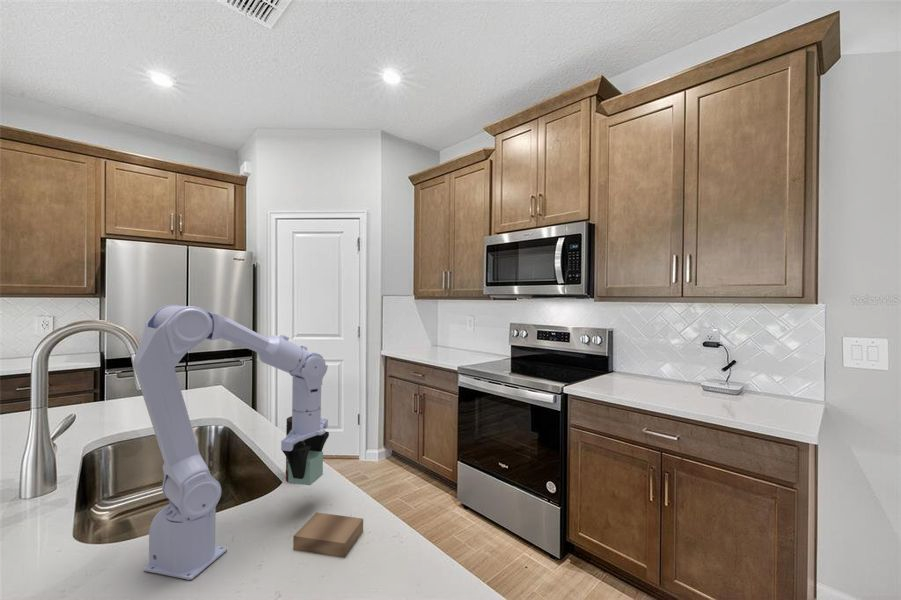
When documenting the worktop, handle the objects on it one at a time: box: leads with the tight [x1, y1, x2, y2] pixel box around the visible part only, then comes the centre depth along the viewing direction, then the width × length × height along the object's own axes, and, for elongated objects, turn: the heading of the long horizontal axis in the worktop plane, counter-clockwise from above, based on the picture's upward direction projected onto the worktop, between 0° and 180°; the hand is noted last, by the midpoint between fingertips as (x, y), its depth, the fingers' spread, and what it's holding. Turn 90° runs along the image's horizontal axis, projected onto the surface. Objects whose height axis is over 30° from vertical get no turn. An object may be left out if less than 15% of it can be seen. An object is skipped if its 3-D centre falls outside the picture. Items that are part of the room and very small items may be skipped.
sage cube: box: [287, 451, 324, 486], centre depth 85 cm, size 5×5×5 cm
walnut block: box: [292, 512, 364, 559], centre depth 76 cm, size 10×8×3 cm
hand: (305, 471), depth 85 cm, fingers closed on sage cube, 5 cm apart
